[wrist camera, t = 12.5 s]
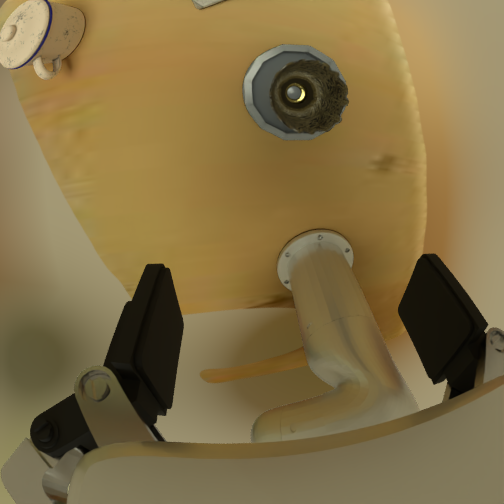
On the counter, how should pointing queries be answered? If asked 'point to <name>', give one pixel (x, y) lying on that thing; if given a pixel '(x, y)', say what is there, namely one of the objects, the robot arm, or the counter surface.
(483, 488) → the robot arm
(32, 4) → the teacup with lid
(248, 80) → the blue-grey plate
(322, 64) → the dark rounded textured piece
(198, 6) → the packaged product
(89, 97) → the counter surface
